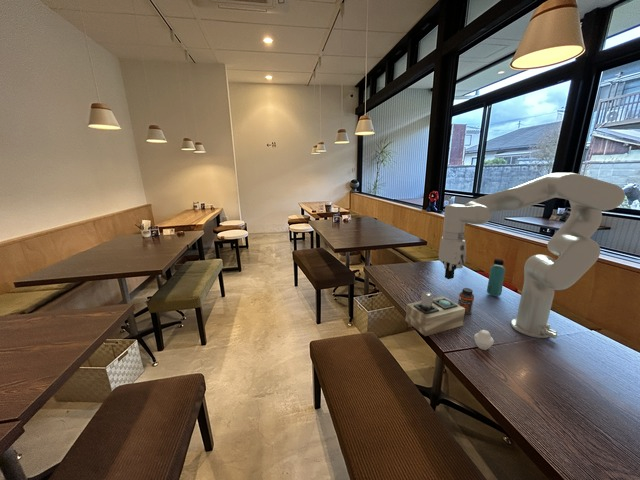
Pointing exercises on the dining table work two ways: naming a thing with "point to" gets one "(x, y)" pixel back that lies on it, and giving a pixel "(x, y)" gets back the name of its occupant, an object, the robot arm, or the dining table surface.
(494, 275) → the beverage bottle
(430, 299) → the steel peg
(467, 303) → the supplement bottle
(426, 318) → the socket block
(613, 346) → the dining table surface
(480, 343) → the white rounded ridged piece
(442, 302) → the teal peg
